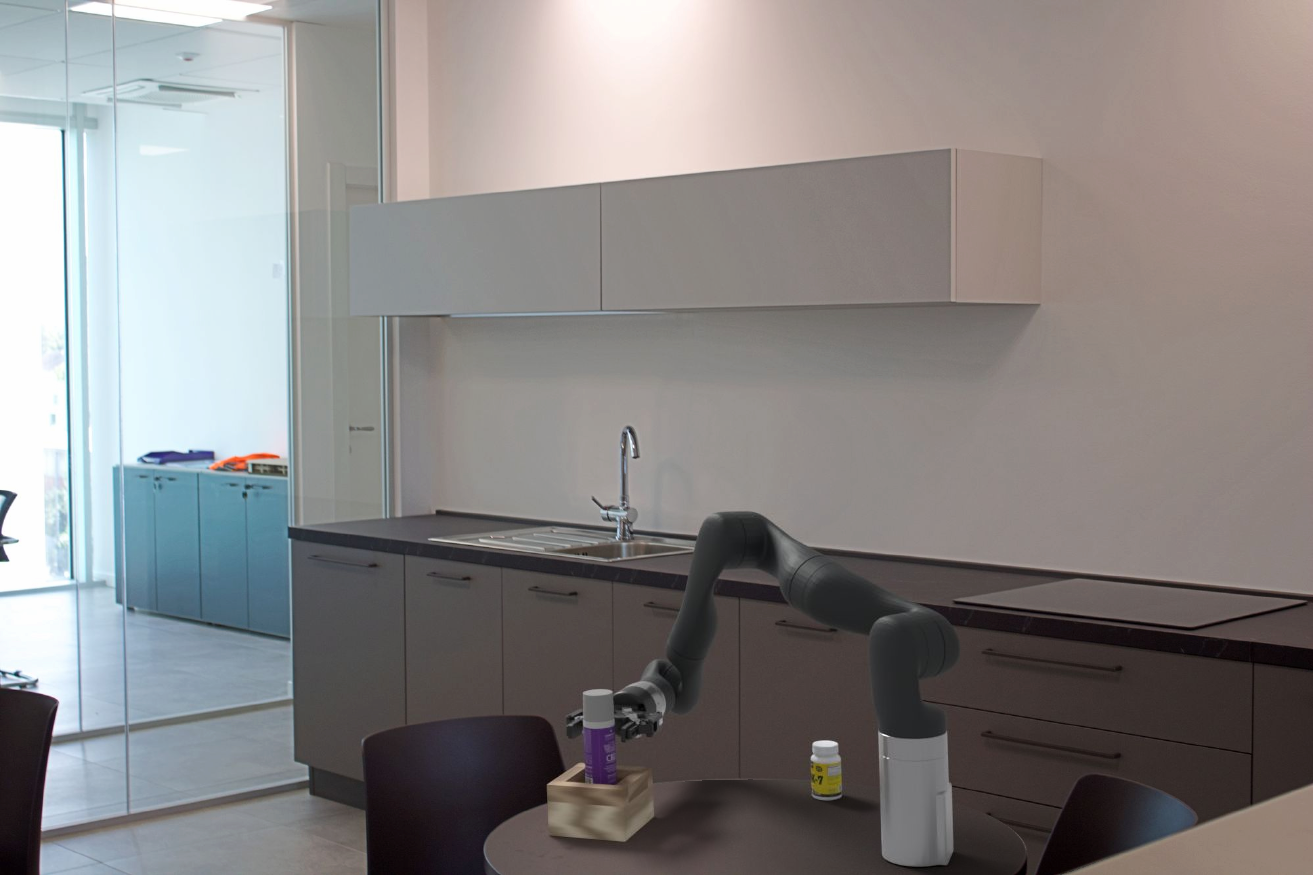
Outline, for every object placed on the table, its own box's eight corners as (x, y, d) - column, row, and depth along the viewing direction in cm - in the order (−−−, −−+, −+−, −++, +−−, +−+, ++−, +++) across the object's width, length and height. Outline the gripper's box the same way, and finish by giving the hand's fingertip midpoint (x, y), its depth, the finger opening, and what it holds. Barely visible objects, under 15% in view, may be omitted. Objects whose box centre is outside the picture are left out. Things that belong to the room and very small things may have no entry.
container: (613, 797, 203) (609, 695, 203) (582, 796, 204) (578, 695, 204) (620, 787, 208) (616, 688, 207) (590, 787, 209) (586, 688, 208)
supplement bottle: (806, 794, 218) (804, 742, 218) (831, 790, 220) (829, 737, 220) (822, 802, 214) (820, 748, 213) (848, 797, 216) (846, 744, 215)
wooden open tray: (653, 816, 210) (652, 767, 209) (625, 841, 198) (623, 789, 198) (581, 810, 214) (579, 762, 214) (548, 835, 203) (546, 784, 202)
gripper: (593, 683, 222) (551, 706, 207) (677, 687, 217) (640, 711, 202) (595, 729, 223) (553, 756, 207) (678, 734, 218) (642, 761, 203)
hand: (596, 734), depth 205 cm, fingers open, 8 cm apart
